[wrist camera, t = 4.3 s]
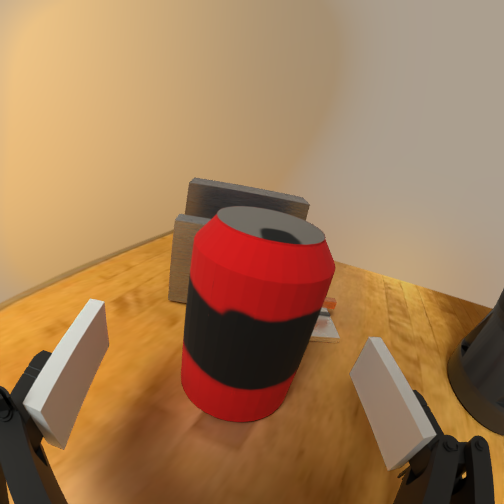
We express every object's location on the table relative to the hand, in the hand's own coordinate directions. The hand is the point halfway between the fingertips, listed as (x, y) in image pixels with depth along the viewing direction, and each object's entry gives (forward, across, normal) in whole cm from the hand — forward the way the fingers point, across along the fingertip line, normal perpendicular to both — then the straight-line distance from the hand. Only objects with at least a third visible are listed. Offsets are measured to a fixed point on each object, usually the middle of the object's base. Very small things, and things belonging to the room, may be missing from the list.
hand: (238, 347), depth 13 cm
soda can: (+4, +1, -7) cm, 8 cm away
